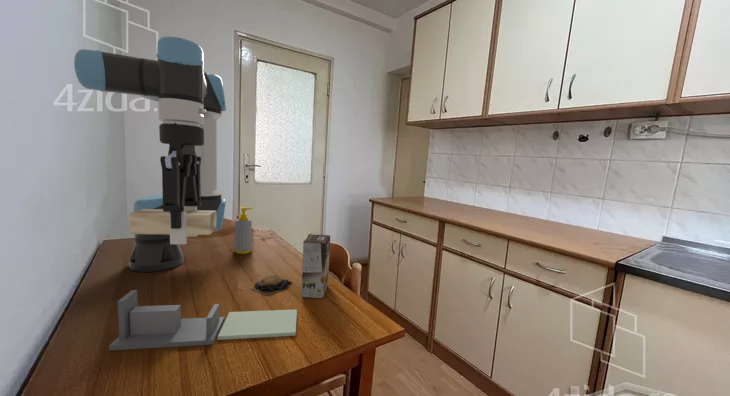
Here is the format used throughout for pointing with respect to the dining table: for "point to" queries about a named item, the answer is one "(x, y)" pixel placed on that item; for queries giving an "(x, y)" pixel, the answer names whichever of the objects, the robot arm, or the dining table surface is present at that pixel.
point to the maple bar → (160, 222)
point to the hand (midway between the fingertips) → (184, 239)
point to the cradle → (162, 326)
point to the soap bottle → (243, 233)
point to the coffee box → (315, 266)
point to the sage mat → (259, 324)
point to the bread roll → (271, 285)
